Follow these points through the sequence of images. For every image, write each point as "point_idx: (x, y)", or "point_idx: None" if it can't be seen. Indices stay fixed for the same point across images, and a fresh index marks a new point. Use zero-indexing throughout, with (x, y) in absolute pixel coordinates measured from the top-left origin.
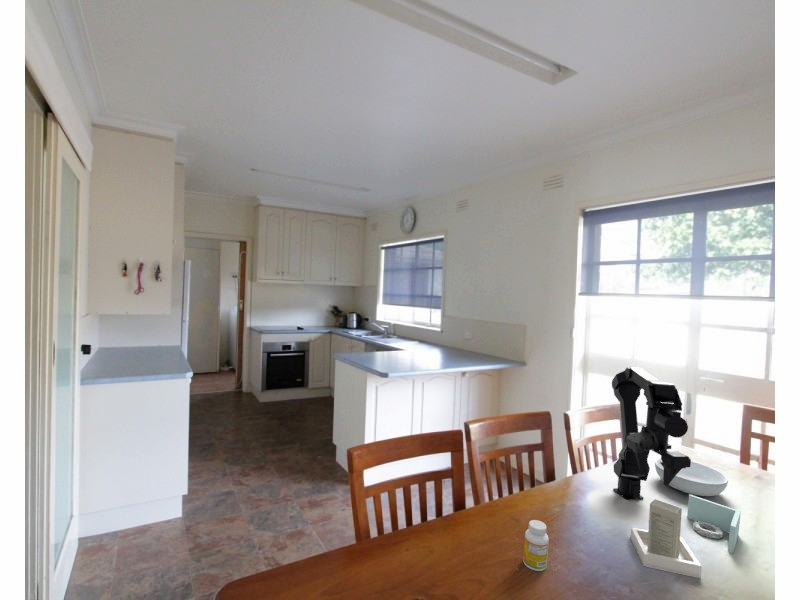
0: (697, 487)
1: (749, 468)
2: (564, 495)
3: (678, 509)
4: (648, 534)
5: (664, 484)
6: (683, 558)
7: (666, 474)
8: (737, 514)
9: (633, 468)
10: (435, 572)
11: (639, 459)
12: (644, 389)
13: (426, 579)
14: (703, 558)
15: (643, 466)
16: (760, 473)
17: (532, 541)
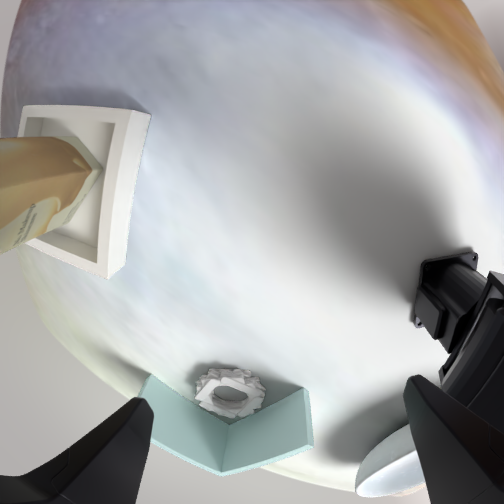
0: (375, 460)
1: (417, 489)
2: (431, 31)
3: None
4: (40, 136)
5: (130, 401)
6: (65, 229)
7: (59, 456)
8: (201, 466)
9: (484, 353)
10: None
11: (458, 449)
12: None
13: None
14: (98, 294)
15: (415, 423)
16: (403, 494)
17: None
